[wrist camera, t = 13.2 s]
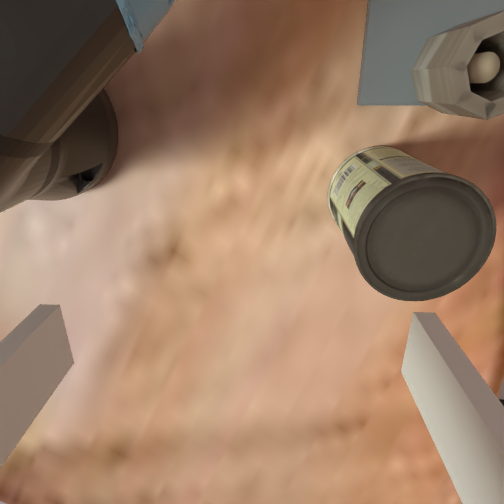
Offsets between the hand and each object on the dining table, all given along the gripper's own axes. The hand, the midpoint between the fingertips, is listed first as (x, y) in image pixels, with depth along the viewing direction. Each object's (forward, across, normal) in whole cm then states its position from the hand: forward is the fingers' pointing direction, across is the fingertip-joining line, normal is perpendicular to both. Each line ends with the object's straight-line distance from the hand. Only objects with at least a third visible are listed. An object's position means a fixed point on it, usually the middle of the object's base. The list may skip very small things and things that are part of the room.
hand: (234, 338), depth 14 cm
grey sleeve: (+28, +18, +10) cm, 34 cm away
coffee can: (+29, +13, -2) cm, 32 cm away
